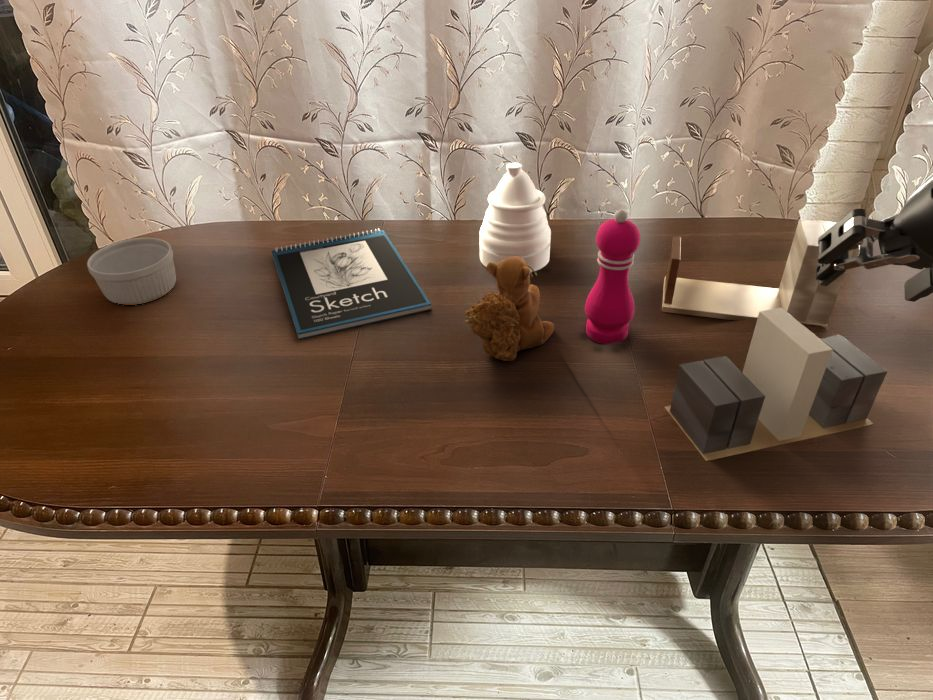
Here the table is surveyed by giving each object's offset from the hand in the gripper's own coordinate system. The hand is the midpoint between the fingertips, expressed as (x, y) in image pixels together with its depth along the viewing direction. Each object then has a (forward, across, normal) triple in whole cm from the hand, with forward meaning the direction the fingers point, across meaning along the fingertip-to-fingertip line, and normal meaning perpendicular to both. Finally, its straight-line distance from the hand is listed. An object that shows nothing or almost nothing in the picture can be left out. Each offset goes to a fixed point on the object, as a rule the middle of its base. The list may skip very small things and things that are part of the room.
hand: (864, 285), depth 65 cm
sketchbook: (+46, +63, -9) cm, 78 cm away
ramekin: (+46, +97, -1) cm, 108 cm away
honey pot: (+49, +35, -22) cm, 64 cm away
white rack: (+37, -2, -14) cm, 40 cm away
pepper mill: (+34, +19, -4) cm, 39 cm away
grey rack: (+22, 0, +9) cm, 23 cm away
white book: (+21, 0, +8) cm, 22 cm away
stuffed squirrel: (+33, +33, +1) cm, 47 cm away
